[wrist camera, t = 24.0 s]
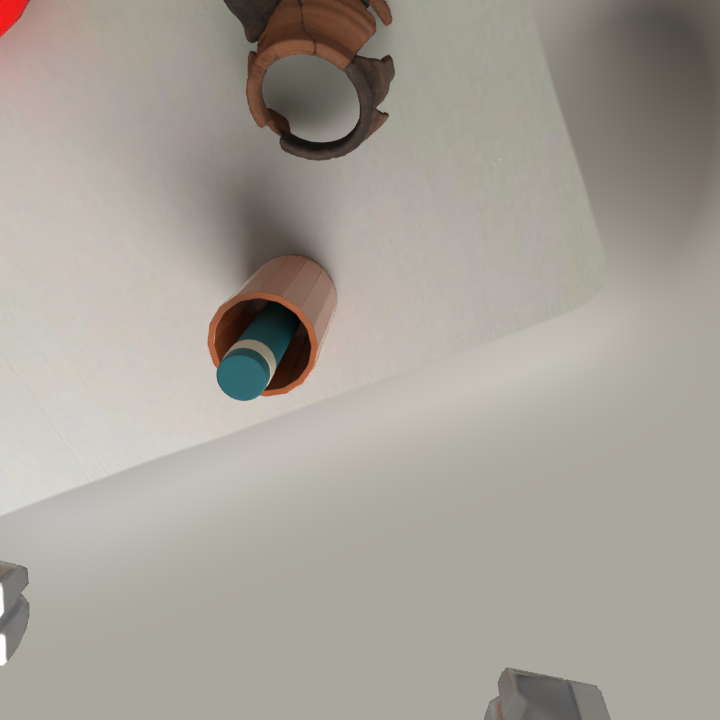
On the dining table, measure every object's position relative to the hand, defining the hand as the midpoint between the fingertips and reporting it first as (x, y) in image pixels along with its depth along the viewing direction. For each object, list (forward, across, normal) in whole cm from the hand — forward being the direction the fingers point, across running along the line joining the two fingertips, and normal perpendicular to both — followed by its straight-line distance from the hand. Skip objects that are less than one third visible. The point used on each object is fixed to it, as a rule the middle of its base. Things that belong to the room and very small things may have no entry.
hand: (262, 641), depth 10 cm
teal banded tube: (+34, +5, +5) cm, 34 cm away
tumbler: (+34, +5, +5) cm, 35 cm away
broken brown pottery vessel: (+34, +6, -11) cm, 37 cm away
